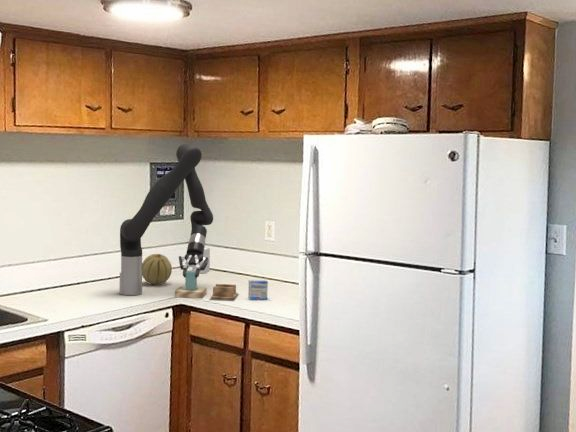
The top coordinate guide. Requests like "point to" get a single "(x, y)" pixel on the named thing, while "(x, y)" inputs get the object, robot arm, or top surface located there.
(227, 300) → the mat
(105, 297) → the top surface
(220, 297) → the brown wooden box
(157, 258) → the cantaloupe
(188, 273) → the teal block
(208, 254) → the supplement box
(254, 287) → the medicine box
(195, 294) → the light wooden block
